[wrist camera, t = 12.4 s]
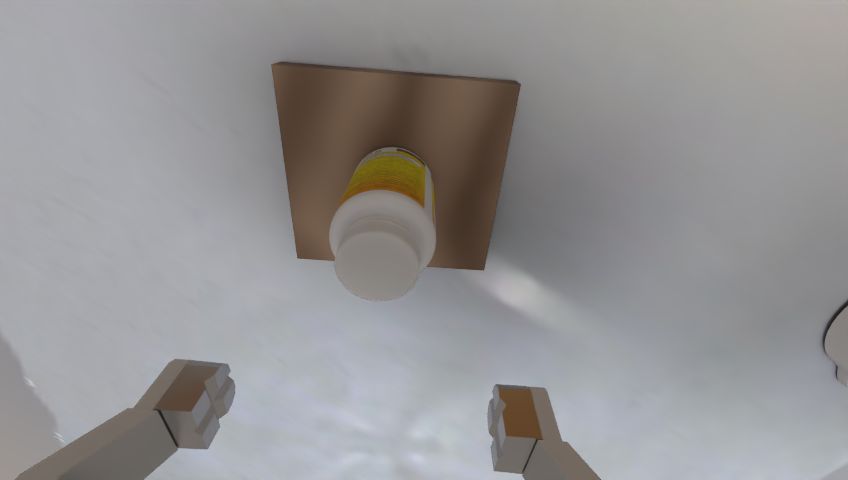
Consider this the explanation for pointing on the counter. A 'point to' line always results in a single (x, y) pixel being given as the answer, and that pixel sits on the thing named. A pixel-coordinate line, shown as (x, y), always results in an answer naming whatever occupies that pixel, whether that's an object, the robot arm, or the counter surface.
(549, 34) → the counter surface
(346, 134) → the walnut board
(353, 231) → the supplement bottle
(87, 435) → the robot arm
